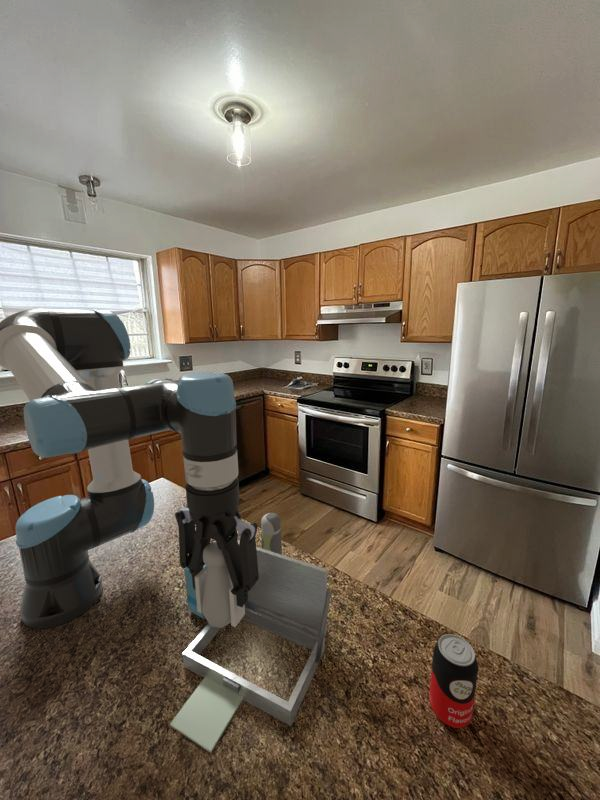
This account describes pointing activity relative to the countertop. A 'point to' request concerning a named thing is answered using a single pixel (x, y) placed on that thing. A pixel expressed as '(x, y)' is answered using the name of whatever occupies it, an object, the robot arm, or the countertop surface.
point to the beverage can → (453, 681)
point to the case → (275, 628)
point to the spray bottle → (271, 533)
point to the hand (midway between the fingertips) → (221, 612)
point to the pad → (206, 714)
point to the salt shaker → (216, 587)
